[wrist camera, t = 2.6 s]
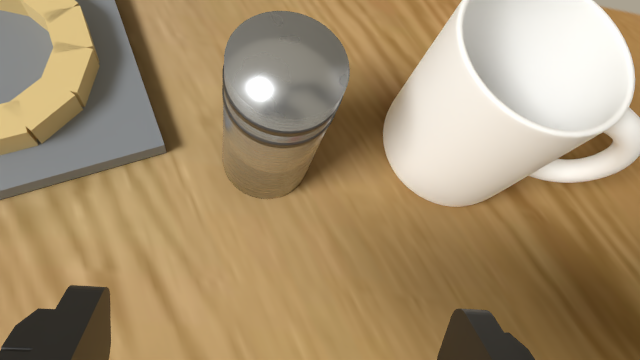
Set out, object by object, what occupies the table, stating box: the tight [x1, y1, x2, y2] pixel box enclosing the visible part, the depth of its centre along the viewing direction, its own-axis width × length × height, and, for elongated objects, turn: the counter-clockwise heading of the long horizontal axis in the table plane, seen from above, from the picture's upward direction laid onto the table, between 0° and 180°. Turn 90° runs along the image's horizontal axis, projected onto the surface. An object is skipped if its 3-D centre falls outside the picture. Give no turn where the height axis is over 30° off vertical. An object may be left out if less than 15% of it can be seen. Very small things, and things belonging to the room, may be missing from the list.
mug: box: [383, 0, 640, 207], centre depth 25 cm, size 12×8×10 cm
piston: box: [223, 11, 350, 199], centre depth 22 cm, size 5×5×10 cm
